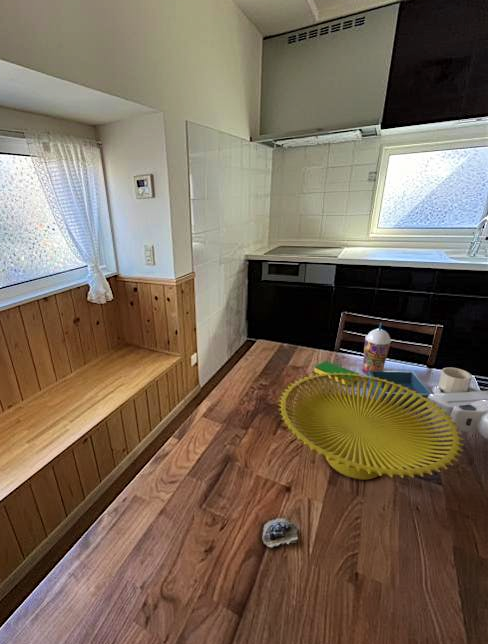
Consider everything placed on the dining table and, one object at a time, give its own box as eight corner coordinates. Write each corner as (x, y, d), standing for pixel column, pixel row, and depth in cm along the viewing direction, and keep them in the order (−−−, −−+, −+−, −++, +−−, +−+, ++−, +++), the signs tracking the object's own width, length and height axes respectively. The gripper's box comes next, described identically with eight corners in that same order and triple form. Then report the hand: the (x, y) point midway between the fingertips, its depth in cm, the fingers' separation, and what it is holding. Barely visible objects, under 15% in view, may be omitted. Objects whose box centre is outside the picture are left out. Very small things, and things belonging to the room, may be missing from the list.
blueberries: (304, 538, 70) (305, 532, 70) (276, 558, 67) (276, 552, 66) (281, 513, 76) (282, 508, 75) (253, 531, 72) (254, 525, 72)
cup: (452, 402, 102) (463, 367, 97) (465, 415, 96) (477, 379, 91) (428, 401, 103) (437, 367, 98) (439, 414, 97) (449, 379, 92)
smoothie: (361, 375, 126) (369, 326, 118) (358, 364, 133) (366, 317, 125) (386, 378, 123) (396, 328, 115) (382, 367, 130) (391, 319, 122)
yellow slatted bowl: (245, 464, 90) (246, 418, 84) (315, 397, 115) (319, 358, 109) (422, 571, 63) (441, 516, 57) (461, 453, 89) (478, 406, 82)
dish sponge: (348, 386, 120) (349, 380, 119) (313, 372, 130) (314, 366, 129) (358, 379, 124) (359, 373, 123) (324, 365, 134) (325, 360, 133)
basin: (410, 383, 119) (413, 371, 117) (430, 407, 106) (433, 395, 104) (366, 381, 122) (368, 370, 120) (380, 405, 109) (382, 393, 107)
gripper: (534, 404, 83) (488, 376, 96) (451, 410, 84) (416, 380, 96) (526, 425, 86) (482, 394, 99) (445, 430, 86) (412, 399, 99)
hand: (449, 387), depth 98 cm, fingers closed on cup, 7 cm apart
